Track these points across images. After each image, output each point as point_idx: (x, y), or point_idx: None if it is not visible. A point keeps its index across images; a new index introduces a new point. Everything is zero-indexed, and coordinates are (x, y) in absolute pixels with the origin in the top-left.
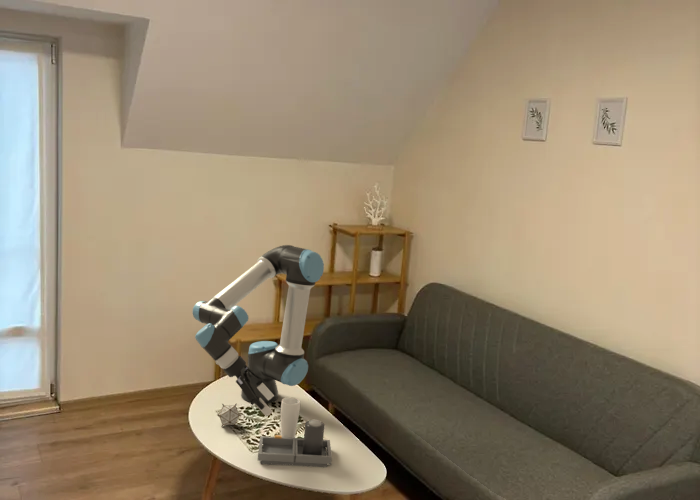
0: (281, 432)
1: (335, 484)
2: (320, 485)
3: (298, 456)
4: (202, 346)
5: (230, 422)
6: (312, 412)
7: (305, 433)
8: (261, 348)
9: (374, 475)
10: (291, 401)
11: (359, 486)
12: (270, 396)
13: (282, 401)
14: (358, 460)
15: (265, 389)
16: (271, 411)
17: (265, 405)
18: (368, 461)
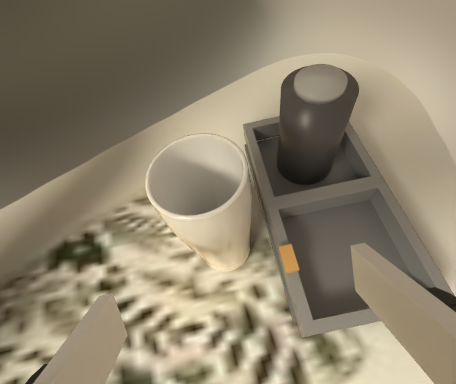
0: (239, 258)
1: (403, 102)
2: (430, 124)
3: (377, 173)
4: None
5: None
6: (35, 218)
7: (339, 130)
8: None
9: (321, 59)
10: (156, 190)
11: (380, 70)
12: (113, 319)
13: (217, 210)
14: (274, 88)
15: (76, 370)
16: (367, 247)
17: (411, 282)
18: (270, 75)
